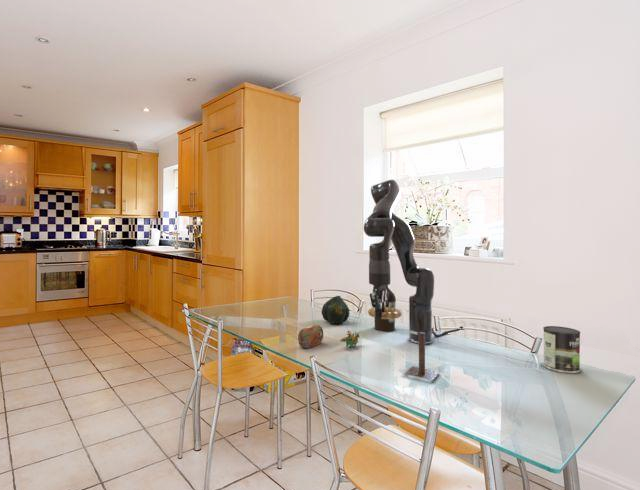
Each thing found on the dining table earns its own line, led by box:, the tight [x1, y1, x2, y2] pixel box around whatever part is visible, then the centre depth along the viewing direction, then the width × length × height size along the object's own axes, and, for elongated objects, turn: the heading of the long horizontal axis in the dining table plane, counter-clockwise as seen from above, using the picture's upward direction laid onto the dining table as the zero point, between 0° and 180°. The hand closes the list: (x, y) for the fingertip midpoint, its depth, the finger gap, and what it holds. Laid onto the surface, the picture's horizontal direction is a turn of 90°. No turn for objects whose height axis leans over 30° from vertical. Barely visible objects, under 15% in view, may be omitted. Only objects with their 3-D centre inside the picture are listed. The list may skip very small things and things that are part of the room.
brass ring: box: [367, 307, 403, 320], centre depth 149 cm, size 12×12×2 cm
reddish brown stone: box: [297, 324, 324, 349], centre depth 172 cm, size 15×3×8 cm, turn 131°
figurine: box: [339, 330, 361, 349], centre depth 166 cm, size 3×12×8 cm, turn 121°
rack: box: [404, 332, 440, 384], centre depth 136 cm, size 9×9×15 cm
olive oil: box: [373, 285, 397, 332], centre depth 197 cm, size 11×11×25 cm
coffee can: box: [542, 325, 581, 374], centre depth 141 cm, size 10×10×14 cm
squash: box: [321, 295, 350, 325], centre depth 212 cm, size 14×15×15 cm
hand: (380, 317), depth 146 cm, fingers closed on brass ring, 2 cm apart
